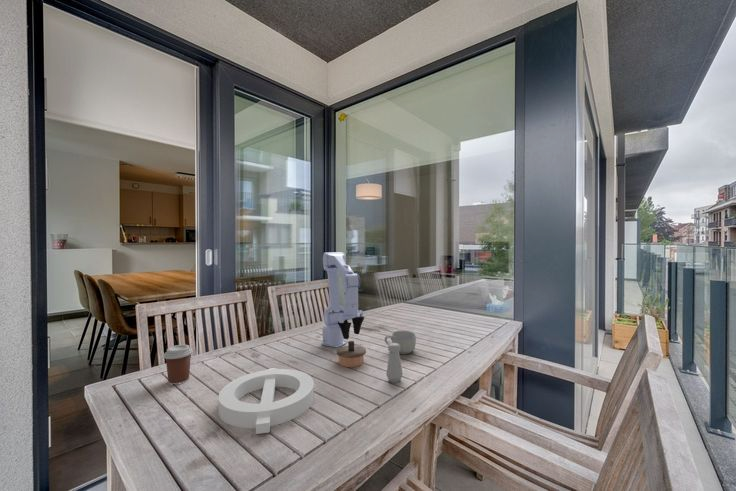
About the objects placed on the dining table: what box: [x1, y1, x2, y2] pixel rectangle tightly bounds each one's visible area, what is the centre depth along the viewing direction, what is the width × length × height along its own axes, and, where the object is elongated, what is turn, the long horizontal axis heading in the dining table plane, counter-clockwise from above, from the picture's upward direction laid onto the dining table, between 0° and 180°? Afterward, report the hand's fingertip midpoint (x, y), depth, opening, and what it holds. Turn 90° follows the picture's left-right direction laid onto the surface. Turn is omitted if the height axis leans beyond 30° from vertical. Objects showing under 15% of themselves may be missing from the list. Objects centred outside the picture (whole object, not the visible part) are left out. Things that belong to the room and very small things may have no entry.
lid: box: [336, 340, 367, 358], centre depth 129 cm, size 12×12×4 cm
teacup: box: [384, 330, 417, 355], centre depth 141 cm, size 14×11×8 cm
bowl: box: [338, 355, 364, 368], centre depth 129 cm, size 10×10×4 cm
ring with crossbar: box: [217, 367, 315, 435], centre depth 98 cm, size 28×28×5 cm
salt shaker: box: [385, 342, 404, 384], centre depth 112 cm, size 6×6×13 cm
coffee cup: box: [163, 344, 194, 385], centre depth 113 cm, size 9×9×12 cm
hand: (351, 336), depth 130 cm, fingers open, 7 cm apart
